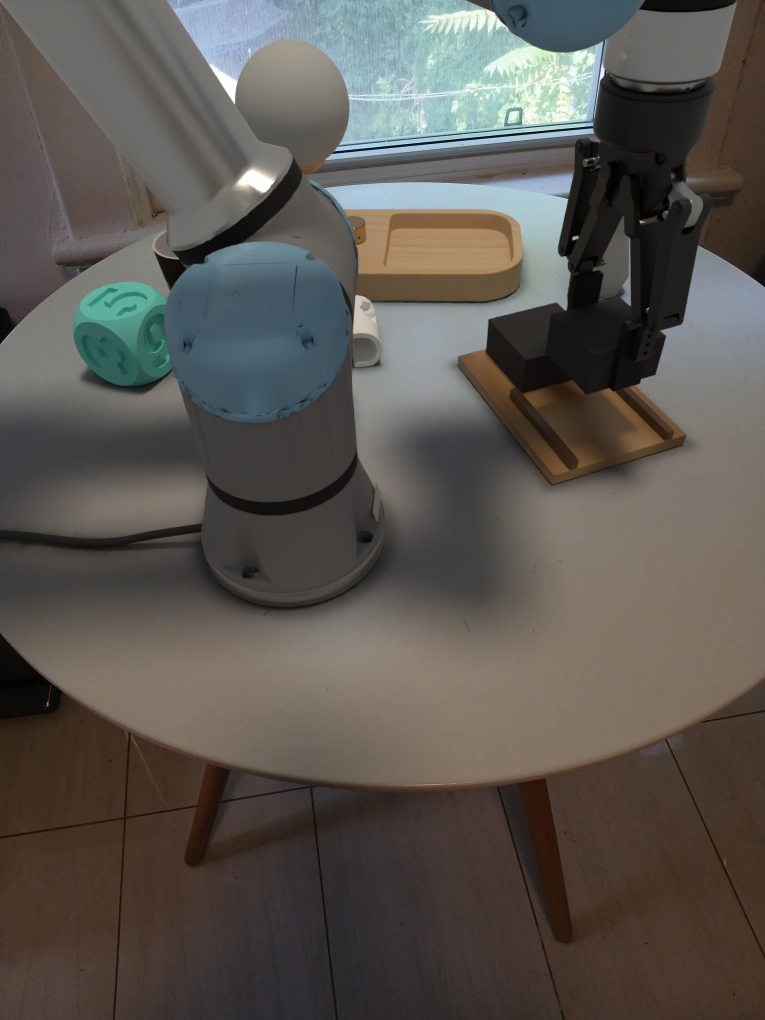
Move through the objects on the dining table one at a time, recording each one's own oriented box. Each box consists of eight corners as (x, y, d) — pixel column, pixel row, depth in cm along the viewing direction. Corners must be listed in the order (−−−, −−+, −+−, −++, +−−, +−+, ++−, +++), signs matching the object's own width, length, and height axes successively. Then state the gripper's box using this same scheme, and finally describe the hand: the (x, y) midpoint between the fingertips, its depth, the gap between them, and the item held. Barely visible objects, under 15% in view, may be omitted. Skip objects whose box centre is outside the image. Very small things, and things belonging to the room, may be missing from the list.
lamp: (515, 236, 98) (537, 14, 80) (522, 303, 86) (550, 61, 68) (274, 235, 101) (242, 21, 83) (248, 301, 89) (205, 67, 71)
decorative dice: (131, 339, 84) (110, 275, 78) (190, 352, 82) (172, 288, 76) (87, 378, 79) (61, 313, 73) (148, 394, 77) (126, 327, 71)
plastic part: (382, 365, 79) (379, 266, 70) (290, 373, 78) (276, 274, 70) (375, 327, 84) (371, 229, 76) (289, 334, 83) (275, 237, 75)
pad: (521, 393, 73) (525, 360, 70) (485, 351, 78) (488, 318, 75) (591, 374, 74) (598, 341, 72) (551, 334, 80) (556, 301, 77)
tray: (551, 485, 65) (555, 467, 64) (457, 365, 78) (458, 347, 77) (683, 444, 68) (690, 426, 67) (571, 335, 81) (574, 318, 80)
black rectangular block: (586, 395, 62) (593, 355, 60) (545, 352, 67) (550, 313, 64) (655, 375, 64) (666, 335, 61) (611, 334, 69) (619, 296, 66)
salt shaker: (573, 278, 90) (590, 170, 81) (620, 278, 90) (644, 170, 80) (577, 303, 86) (596, 192, 77) (627, 304, 86) (652, 192, 76)
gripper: (814, 110, 43) (706, 415, 60) (622, 31, 56) (577, 299, 73) (708, 132, 41) (627, 439, 58) (535, 45, 55) (509, 316, 71)
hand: (599, 361), depth 65 cm, fingers closed on black rectangular block, 7 cm apart
